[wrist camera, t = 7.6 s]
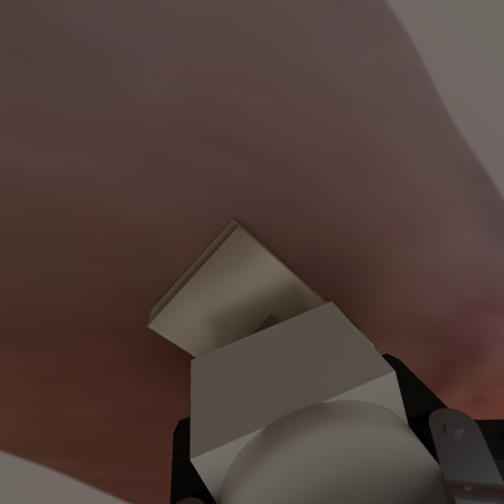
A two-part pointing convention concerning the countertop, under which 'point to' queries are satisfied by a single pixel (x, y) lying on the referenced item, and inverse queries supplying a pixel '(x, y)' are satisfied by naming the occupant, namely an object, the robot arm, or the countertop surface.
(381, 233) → the countertop surface
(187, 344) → the board
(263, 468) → the knob
